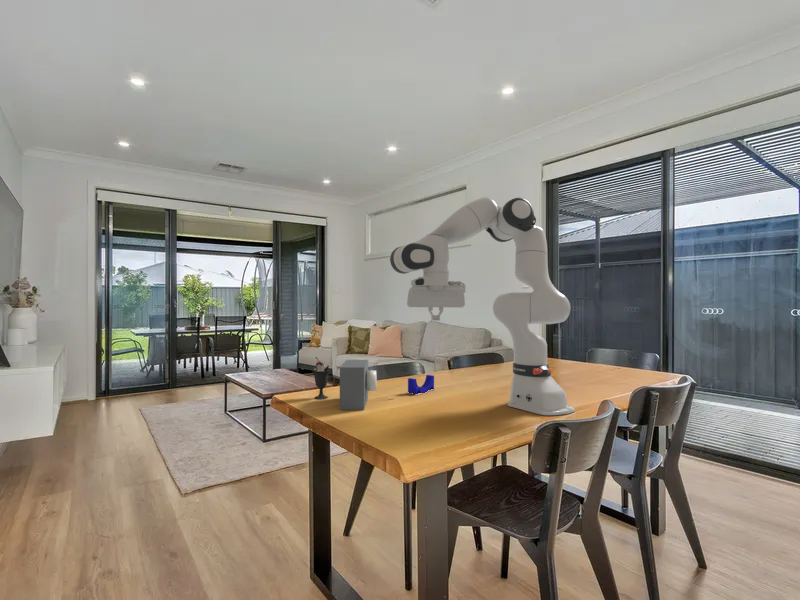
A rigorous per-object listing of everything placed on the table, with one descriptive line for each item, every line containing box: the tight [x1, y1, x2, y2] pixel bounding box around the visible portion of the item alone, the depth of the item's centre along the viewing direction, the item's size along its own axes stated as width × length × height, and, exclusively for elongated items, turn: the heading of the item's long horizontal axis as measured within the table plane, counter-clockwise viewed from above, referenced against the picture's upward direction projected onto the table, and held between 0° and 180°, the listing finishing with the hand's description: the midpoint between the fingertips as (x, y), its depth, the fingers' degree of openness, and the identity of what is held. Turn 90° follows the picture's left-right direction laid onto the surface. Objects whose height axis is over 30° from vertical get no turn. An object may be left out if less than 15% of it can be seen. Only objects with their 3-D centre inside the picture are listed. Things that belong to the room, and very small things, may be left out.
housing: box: [339, 359, 369, 411], centre depth 150 cm, size 8×18×14 cm, turn 0°
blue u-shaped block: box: [407, 374, 435, 395], centre depth 169 cm, size 12×4×6 cm, turn 135°
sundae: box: [311, 356, 331, 400], centre depth 159 cm, size 7×7×15 cm
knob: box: [366, 369, 378, 392], centre depth 150 cm, size 9×7×7 cm
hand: (435, 320), depth 151 cm, fingers closed
